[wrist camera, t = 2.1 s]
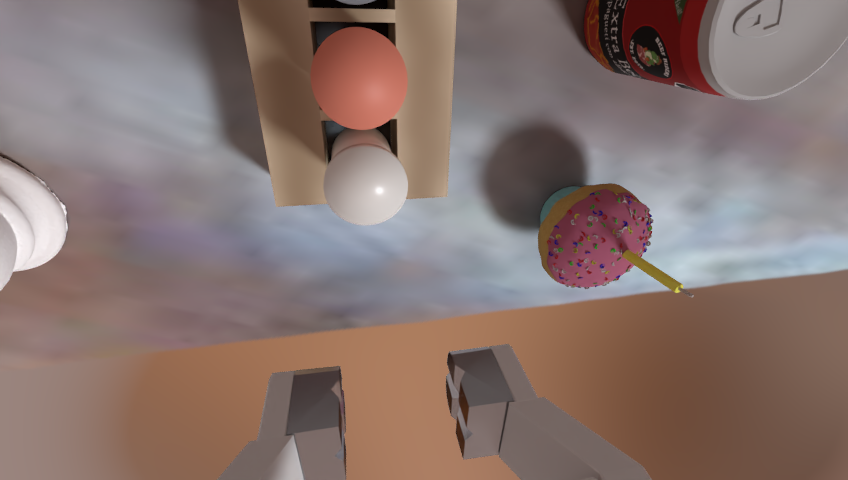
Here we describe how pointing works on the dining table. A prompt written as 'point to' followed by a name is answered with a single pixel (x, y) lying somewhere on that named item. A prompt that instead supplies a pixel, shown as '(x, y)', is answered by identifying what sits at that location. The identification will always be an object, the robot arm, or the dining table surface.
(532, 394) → the robot arm
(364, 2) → the graphite plug
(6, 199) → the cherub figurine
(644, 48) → the canned food
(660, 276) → the cupcake
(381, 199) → the white rounded piece
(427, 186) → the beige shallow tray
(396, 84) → the red plug
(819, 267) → the dining table surface
